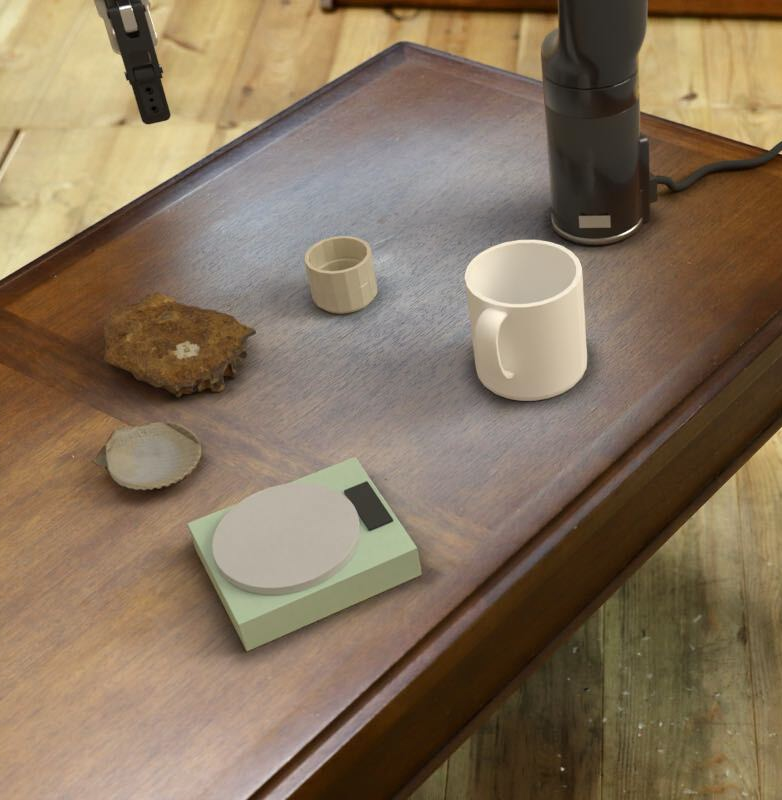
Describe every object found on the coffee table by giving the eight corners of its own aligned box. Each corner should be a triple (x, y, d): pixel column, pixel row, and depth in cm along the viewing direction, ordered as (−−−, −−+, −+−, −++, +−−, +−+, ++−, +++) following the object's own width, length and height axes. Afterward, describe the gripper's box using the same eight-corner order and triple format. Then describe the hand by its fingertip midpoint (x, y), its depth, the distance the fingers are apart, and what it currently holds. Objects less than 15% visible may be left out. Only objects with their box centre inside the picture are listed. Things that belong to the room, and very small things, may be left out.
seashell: (177, 519, 113) (221, 441, 117) (169, 501, 111) (215, 422, 115) (86, 490, 114) (133, 414, 118) (76, 471, 112) (125, 394, 116)
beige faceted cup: (363, 271, 136) (355, 228, 133) (388, 302, 132) (381, 259, 129) (304, 291, 134) (295, 249, 131) (328, 324, 130) (319, 280, 127)
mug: (508, 322, 129) (498, 230, 122) (605, 347, 126) (601, 253, 119) (441, 403, 120) (427, 309, 114) (544, 432, 117) (536, 336, 110)
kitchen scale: (360, 483, 113) (353, 448, 111) (422, 574, 105) (415, 540, 103) (195, 550, 108) (184, 515, 105) (246, 652, 100) (235, 617, 97)
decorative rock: (71, 372, 126) (198, 423, 121) (57, 339, 123) (187, 389, 118) (154, 300, 133) (278, 345, 128) (143, 266, 131) (269, 311, 125)
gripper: (158, -81, 96) (211, 126, 106) (131, -144, 106) (182, 51, 117) (47, -60, 94) (112, 148, 104) (30, -127, 104) (91, 70, 115)
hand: (149, 96), depth 110 cm, fingers open, 8 cm apart
